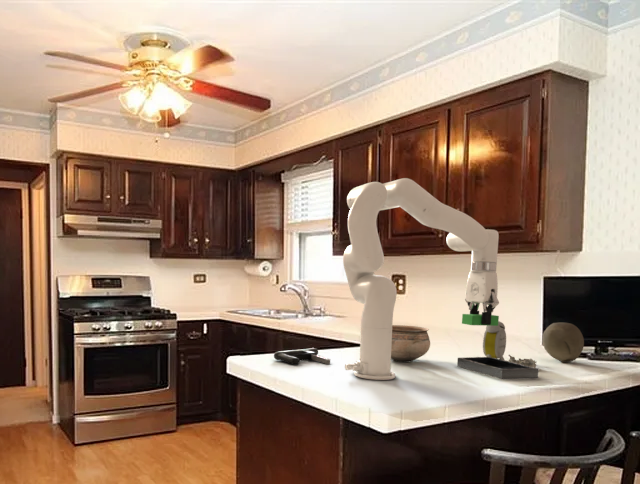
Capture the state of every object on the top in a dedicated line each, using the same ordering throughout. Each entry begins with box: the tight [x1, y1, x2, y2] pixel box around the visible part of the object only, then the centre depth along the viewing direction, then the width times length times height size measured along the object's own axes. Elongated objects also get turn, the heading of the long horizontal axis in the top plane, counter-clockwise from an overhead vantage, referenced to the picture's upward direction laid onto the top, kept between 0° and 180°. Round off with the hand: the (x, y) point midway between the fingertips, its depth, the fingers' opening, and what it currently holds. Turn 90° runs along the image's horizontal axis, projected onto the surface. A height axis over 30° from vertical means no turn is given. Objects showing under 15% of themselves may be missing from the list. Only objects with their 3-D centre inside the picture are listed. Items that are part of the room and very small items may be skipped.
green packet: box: [461, 313, 500, 327], centre depth 176 cm, size 10×5×3 cm, turn 105°
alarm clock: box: [482, 320, 507, 360], centre depth 201 cm, size 12×7×15 cm, turn 139°
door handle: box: [273, 347, 331, 366], centre depth 193 cm, size 3×20×16 cm
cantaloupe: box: [542, 322, 585, 363], centre depth 206 cm, size 14×14×15 cm
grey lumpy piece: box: [508, 354, 537, 368], centre depth 189 cm, size 11×8×4 cm
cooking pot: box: [391, 324, 431, 363], centre depth 199 cm, size 25×19×12 cm
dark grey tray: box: [456, 356, 539, 380], centre depth 179 cm, size 14×22×4 cm, turn 14°
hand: (479, 323), depth 176 cm, fingers closed on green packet, 5 cm apart
